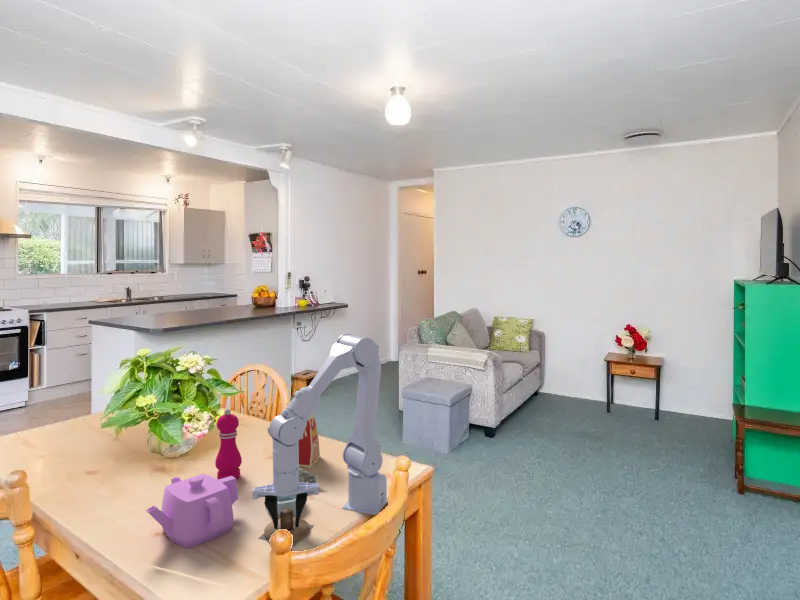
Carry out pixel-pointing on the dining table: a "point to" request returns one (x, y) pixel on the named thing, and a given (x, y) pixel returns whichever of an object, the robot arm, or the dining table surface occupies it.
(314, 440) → the milk carton
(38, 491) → the dining table surface
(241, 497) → the dining table surface
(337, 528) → the dining table surface
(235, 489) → the teakettle
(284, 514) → the lid
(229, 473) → the pepper mill
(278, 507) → the bowl
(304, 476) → the egg carton
